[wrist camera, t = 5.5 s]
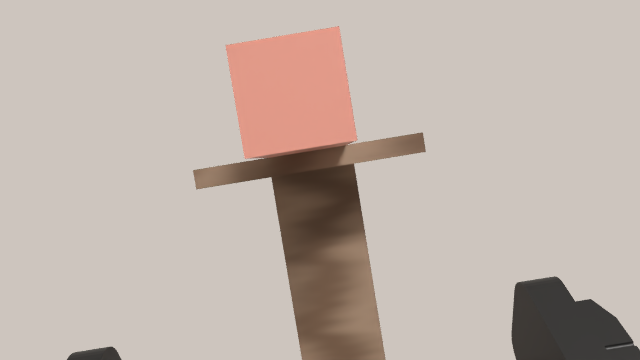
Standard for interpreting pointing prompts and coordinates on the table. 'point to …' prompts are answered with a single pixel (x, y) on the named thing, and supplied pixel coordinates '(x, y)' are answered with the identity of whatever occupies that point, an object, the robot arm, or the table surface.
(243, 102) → the salmon pink bar
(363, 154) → the brown pedestal stand
